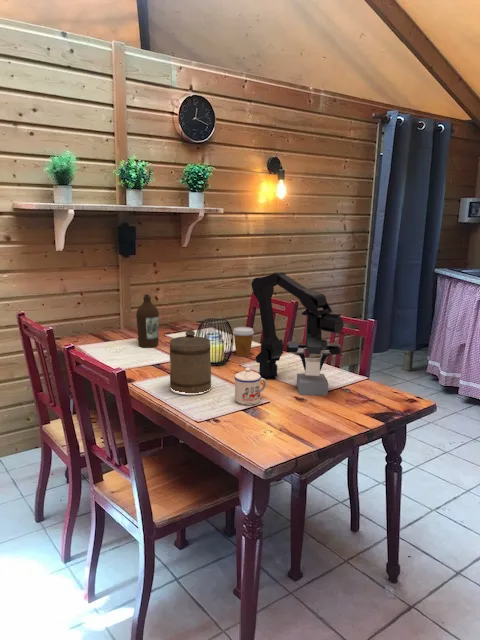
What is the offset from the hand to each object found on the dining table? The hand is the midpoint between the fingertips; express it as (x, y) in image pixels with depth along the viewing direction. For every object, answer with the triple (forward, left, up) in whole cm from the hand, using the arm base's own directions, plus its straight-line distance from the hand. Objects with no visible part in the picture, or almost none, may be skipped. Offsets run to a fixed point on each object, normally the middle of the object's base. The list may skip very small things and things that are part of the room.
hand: (312, 370), depth 180 cm
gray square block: (0, 0, -8) cm, 8 cm away
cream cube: (0, 0, -1) cm, 1 cm away
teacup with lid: (-21, -13, -8) cm, 26 cm away
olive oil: (-77, +51, -8) cm, 93 cm away
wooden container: (-44, -5, -8) cm, 45 cm away
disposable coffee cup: (-30, +42, -8) cm, 52 cm away
